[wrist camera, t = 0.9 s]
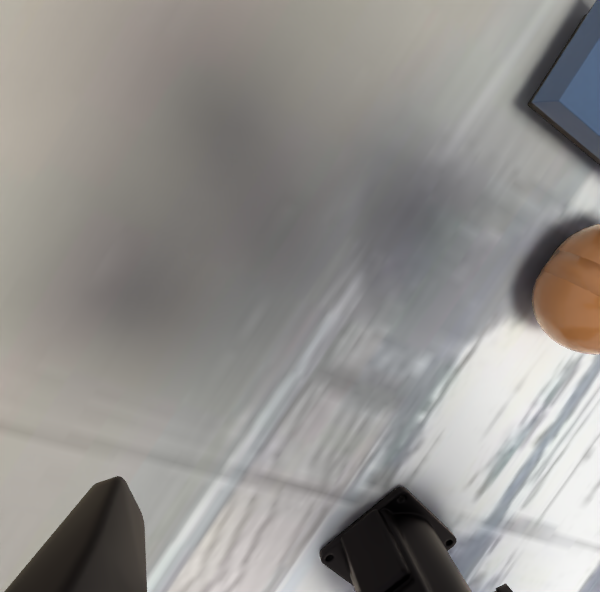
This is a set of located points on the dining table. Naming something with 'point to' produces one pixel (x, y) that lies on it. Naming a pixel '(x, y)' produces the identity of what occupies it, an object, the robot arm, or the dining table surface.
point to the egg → (571, 293)
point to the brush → (575, 87)
